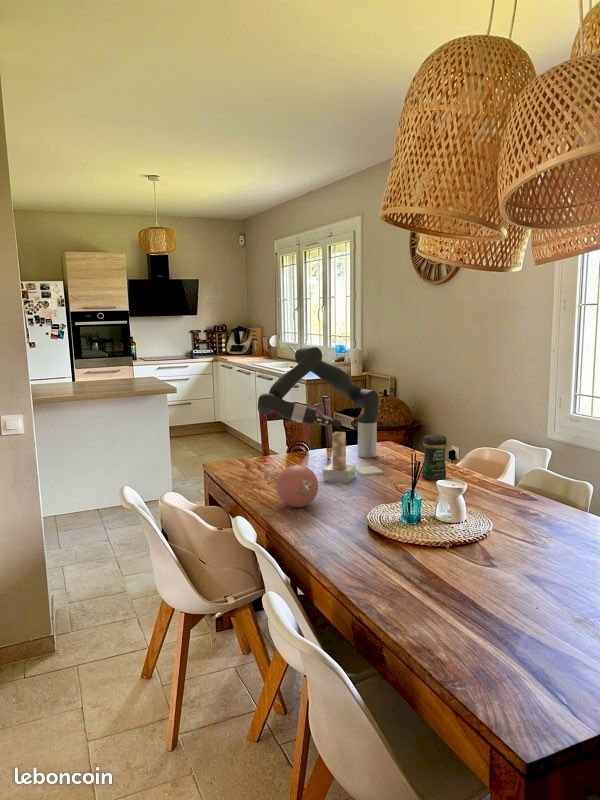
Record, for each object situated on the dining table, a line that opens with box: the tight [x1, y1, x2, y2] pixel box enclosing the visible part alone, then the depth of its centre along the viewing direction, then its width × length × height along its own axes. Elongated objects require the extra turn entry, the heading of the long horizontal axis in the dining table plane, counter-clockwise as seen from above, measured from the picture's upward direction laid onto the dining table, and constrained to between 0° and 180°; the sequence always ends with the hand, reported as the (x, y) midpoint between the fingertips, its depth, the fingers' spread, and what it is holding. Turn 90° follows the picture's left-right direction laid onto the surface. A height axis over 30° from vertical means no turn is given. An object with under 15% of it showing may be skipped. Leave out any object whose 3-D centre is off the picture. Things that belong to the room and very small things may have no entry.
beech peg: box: [331, 431, 347, 469], centre depth 242 cm, size 4×4×20 cm
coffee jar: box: [421, 434, 448, 481], centre depth 241 cm, size 10×8×19 cm
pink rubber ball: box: [276, 464, 319, 508], centre depth 206 cm, size 15×20×15 cm
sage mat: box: [355, 465, 384, 477], centre depth 253 cm, size 10×10×1 cm
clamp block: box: [322, 462, 356, 484], centre depth 243 cm, size 11×11×5 cm
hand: (340, 424), depth 239 cm, fingers open, 8 cm apart
